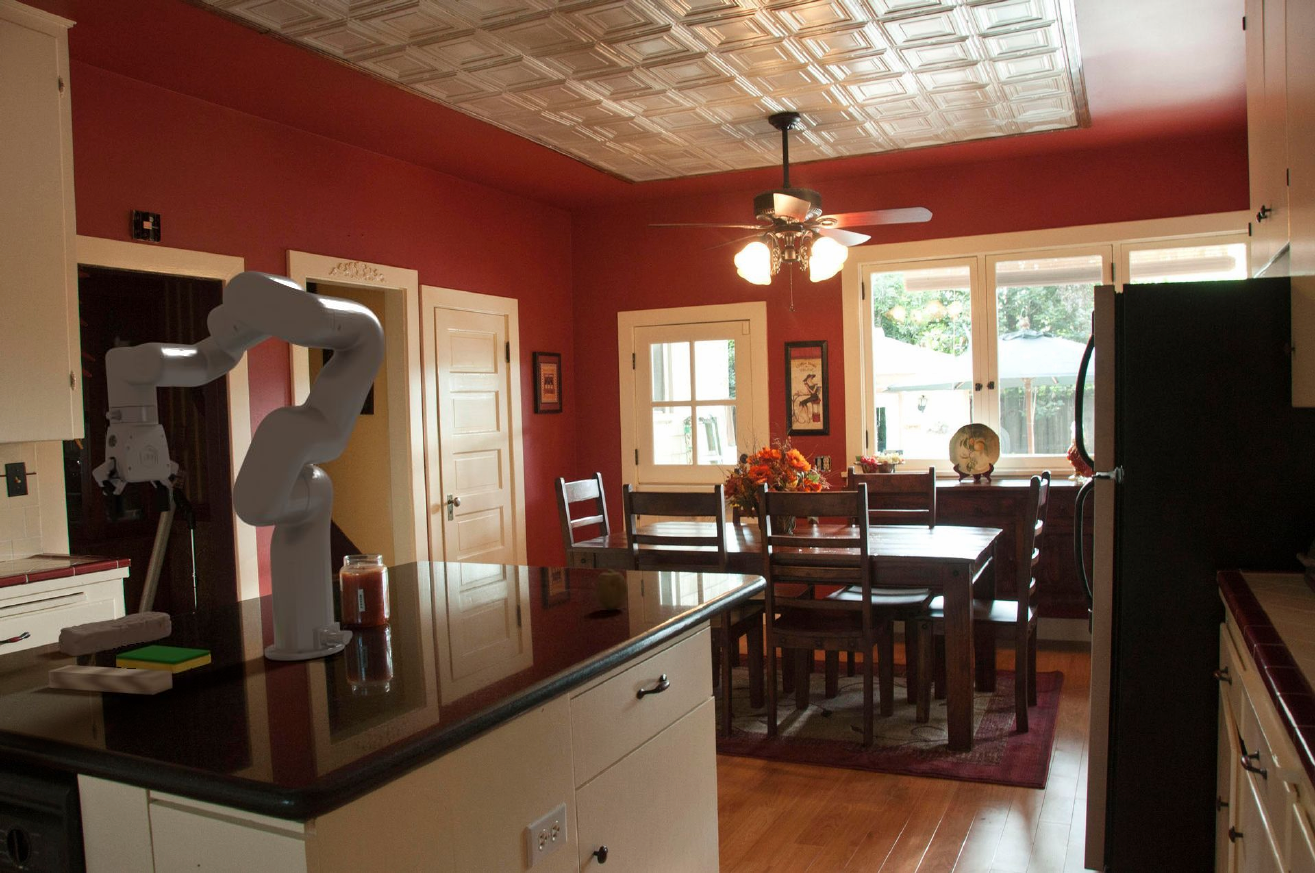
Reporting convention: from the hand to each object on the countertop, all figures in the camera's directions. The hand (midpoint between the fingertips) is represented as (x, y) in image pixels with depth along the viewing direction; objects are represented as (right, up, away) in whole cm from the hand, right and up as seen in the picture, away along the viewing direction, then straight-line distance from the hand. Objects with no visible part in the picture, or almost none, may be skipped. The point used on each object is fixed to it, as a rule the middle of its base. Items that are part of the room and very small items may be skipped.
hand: (140, 514), depth 171 cm
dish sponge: (+11, -24, -13) cm, 30 cm away
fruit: (+83, -20, +16) cm, 86 cm away
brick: (-7, -24, +4) cm, 25 cm away
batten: (+10, -24, -26) cm, 37 cm away
